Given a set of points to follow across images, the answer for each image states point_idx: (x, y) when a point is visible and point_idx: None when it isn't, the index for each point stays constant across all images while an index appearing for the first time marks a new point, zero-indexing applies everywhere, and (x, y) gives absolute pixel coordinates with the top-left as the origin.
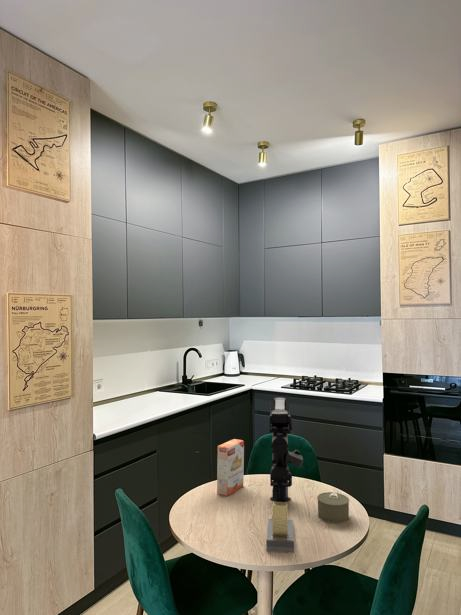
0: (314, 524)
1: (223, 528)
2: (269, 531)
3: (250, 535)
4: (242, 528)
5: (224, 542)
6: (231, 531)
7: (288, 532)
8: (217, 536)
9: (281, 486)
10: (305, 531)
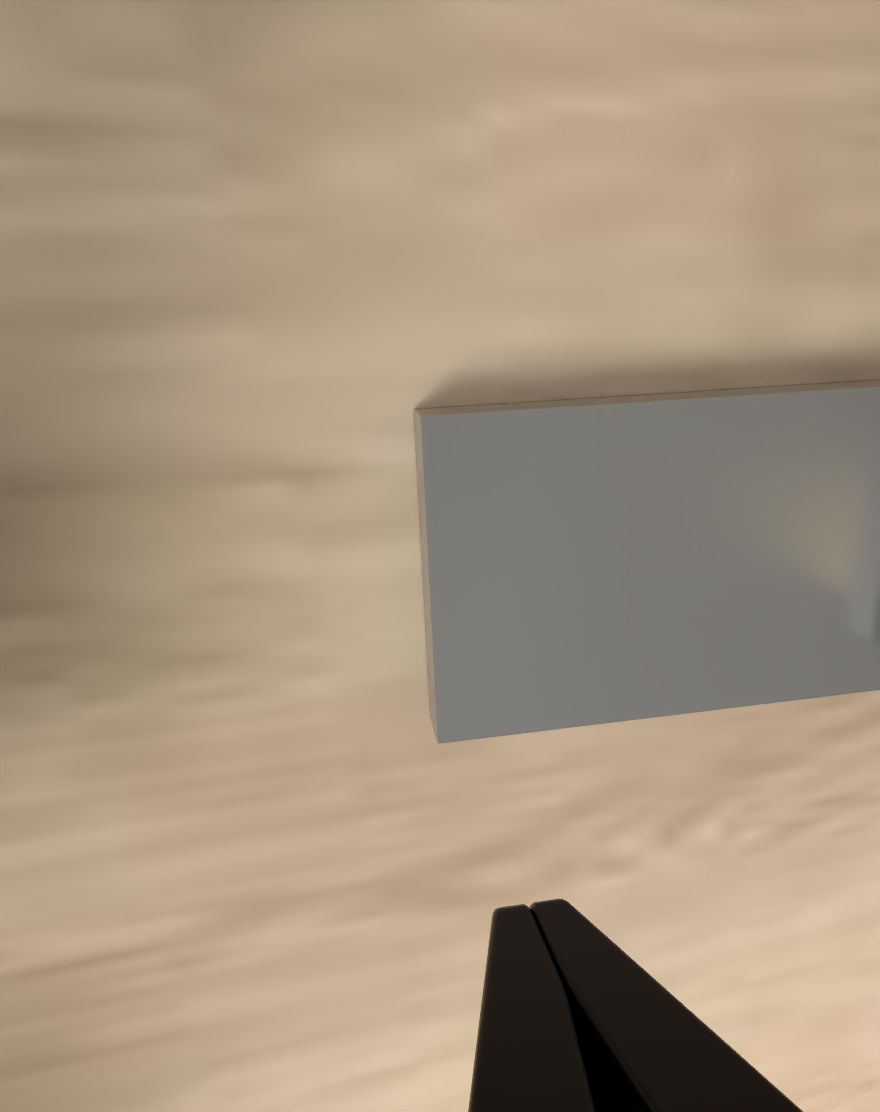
0: (366, 49)
1: None
2: (770, 680)
3: (738, 836)
4: None
5: (863, 1002)
6: None
7: (789, 454)
8: None
9: (595, 936)
10: (606, 215)
